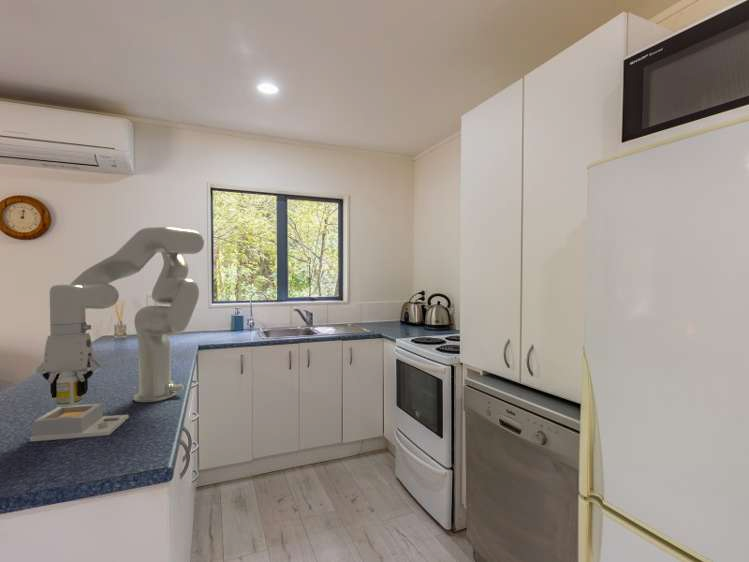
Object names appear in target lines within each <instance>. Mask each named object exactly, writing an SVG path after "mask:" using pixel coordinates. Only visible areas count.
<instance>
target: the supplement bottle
mask: <svg viewBox="0 0 749 562" xmlns="http://www.w3.org/2000/svg"><path fill="white" fill-rule="evenodd" d="M78 382H79V377H78V375H77V372H76V371H75V372H70V371H63V372H60V378H58V379H57V397H56V406H57V407H69V406H74V405H80V403H82V398H83V395H82V396H78V395H77V383H78Z"/></svg>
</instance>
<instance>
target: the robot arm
mask: <svg viewBox="0 0 749 562" xmlns="http://www.w3.org/2000/svg"><path fill="white" fill-rule="evenodd" d="M204 240H205V239H204V238H203V236H202V234H201V233H200V232H198V231H197V230H193V229H192V230H191V229H183V228H178V227H177V228H176V227H169V226H159V227H158V226H157V227H156V226H155V227H144V228H142V229H139V230H138V231H137V232H136V233H135V234H133V236H132V237H130V239H128V240H127V241H126V242H125V243H124V244H123V246H121V247H120V248H119V249H118V250H117V251H116V252H115V253H113V255H111V256H108V257H106V258H104V259H103V260H101V261H100V262H98V263H95V264H94V265H92V266H90V267H89V268H86V269H85V270H84V271H83V272H82V273H80V274H79V275H78V276H77V277H76V278H75V279H73V281H72V282H71V283H70V284H56V285H52V286H51V287H50V289H49V323H50V324H49V325H50V327H49V329H50V330H49V333H50V335H47V338H46V342H45V347H44V353H43V354H44V356H43V362H42V363H41V364H40V365H38V366H37V368H36V370H35V372H36V373H37V374H39V375H41V376H42V378H44V379H45V380H47V383H48V384H49V385H50V394H51V398H52V399H55V398H57V379H58V378H60V377H61V376H60V372H63V371H70V372H75V371H76V372H77V375H78V377H79V382H78V383H77V395H78V396H82V397H83V396H84V395H86V394H87V392H88V390H89V389H88V388H89V385H88V384H89V379H90V378H91V377H92V376H93V375H94V374H95V373H96V372H97V371H99V370H100V369H101V367H102V365H101V364H100V363H98V361H96V360H95V356H94V346H93V341H92V338H91V334H90V332H89V333H88V332H87V331H88V330H91V329H92V325H91V324H87V322H86V319H87V318H86V310H88V309H91V310H94V309H95V310H105V309H109V308H111V307H113V306H115V304H117V302H118V300H119V297H120V295H119V290H118V289H117V288H116V287H115V286H113V285H112V284H111V283H112V282H116V281H118V280H121V279H124V278H127V277H131V276H133V275H136V274H137V273H139V272H140V271H142V269H143V268H144V267H145V266H146V265H147V264H148V262H149V261H150V260H151V259H153V257H155V255H157V253H160V254H161V255H162V259H163V265H162V269H161V271H160V273H159V275H158V278H157V280H156V282H155V284H154V286H153V289H152V291H151V292H152V293H151V298H152V301H154V302H155V303H157V304H159V305H148V306H145V307H141V308H140V309H139V310H138V311H137V312H136V314H135V316H134V327H135V331H136V334H137V335H136V336H137V345H138V347H137V348H138V388H139V389H138V390H139V391H138V393H136V394H135V395H134V396H133V400H134V401H135V402H137V403H155V402H161V401H164V400H168V399H171V398H172V397H174V396H176V394H177V392H181V391H182V392H183V391H185V390H184V389H185V386H184V384H182V383H178V384H175V383H174V380H171V377H172V375H171V368H172V367H171V343H170V339H169V337H168V335H179V334H181V333H182V332H184V331H185V330H186V328H187V327H188V325H189V323H190V322H191V318H192V317H193V316H192V315H193V313H194V311H195V309H196V306H197V304H198V300H199V296H200V289H199V286H198V284H197V282H196V281H194V280H193V279H190V278H187V277H188V274H189V264H188V262H187V260H186V258H185V257H184V255H195V254H198V253H200V252H201V251H202V250H203V248H204V246H205V245H204V244H205V241H204ZM88 368H89V370H88ZM90 368H91V369H90Z"/></svg>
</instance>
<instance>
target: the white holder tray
mask: <svg viewBox="0 0 749 562" xmlns="http://www.w3.org/2000/svg"><path fill="white" fill-rule="evenodd" d="M103 406H104V405H103V403H91V404H89V403H88V404H77V405H74V406H69V407H58V406H57V407H55V408H54V409H52V410H51V411H49V412H46V413H45V414H43V415H42V416H40V417H38V418H36V419H34V420H33V422H32V430H33V431H32V432H33V433H32V436H30V437H29V442H39V441H42V442H43V441H51V440H52V441H53V440H65V439H67V440H68V439H76V438H79V439H80V438H90V437H100V436H101V437H102V436H103V437H104V436H109V435H111V434H112V433H113V432H114V431H115V430H116V429H118V428H119V427H120V426H121V425H122V424H124V423H125V420H126V419H127V420H128V419H129V414H119V415H115V414H114V415H106V416H105V415H104V411H103V410H104V407H103ZM83 411H85V412H84V413H82V414H81V415H79V416H72V417H59V416H61V415H62V414H64V413H69V412H83ZM57 417H59V418H57ZM127 420H126V421H127Z"/></svg>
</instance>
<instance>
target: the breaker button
mask: <svg viewBox="0 0 749 562" xmlns="http://www.w3.org/2000/svg"><path fill="white" fill-rule="evenodd" d="M84 412H85V411H83V412H69V413H64V414H62V415H61V416H59V417H72V416H79V415H81V414H82V413H84ZM59 417H57V418H59Z"/></svg>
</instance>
